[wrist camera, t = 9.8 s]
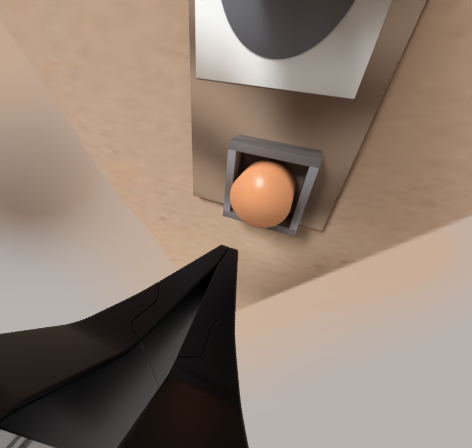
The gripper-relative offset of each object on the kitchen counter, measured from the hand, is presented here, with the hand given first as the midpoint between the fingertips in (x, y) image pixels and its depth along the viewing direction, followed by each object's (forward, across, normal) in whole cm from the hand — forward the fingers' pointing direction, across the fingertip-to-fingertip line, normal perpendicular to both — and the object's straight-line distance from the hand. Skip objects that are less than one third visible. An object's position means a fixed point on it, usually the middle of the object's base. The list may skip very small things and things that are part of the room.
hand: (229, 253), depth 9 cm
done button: (+9, 0, 0) cm, 9 cm away
